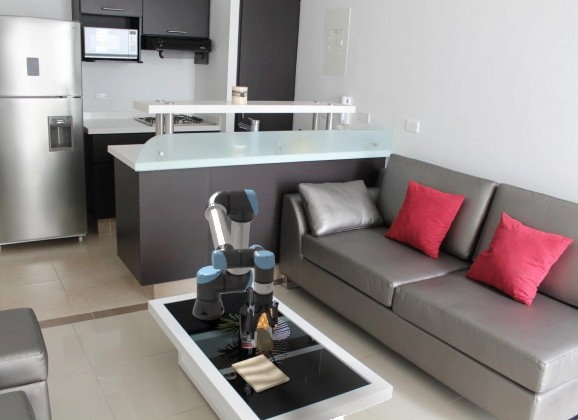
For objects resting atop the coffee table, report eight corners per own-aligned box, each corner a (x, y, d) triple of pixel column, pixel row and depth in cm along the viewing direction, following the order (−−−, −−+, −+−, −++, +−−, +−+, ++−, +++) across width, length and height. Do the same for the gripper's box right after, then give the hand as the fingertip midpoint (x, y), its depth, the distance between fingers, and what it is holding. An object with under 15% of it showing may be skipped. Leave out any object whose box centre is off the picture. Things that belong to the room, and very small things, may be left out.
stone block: (260, 353, 212) (260, 341, 210) (249, 339, 222) (249, 328, 220) (274, 350, 214) (274, 339, 213) (262, 336, 224) (262, 325, 223)
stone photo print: (231, 366, 226) (231, 364, 226) (262, 356, 234) (262, 354, 234) (257, 392, 210) (257, 390, 210) (289, 380, 219) (289, 378, 218)
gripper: (246, 299, 203) (245, 354, 210) (289, 289, 214) (286, 341, 220) (236, 292, 209) (235, 345, 216) (278, 282, 220) (276, 333, 226)
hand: (261, 343), depth 218 cm, fingers closed on stone block, 6 cm apart
